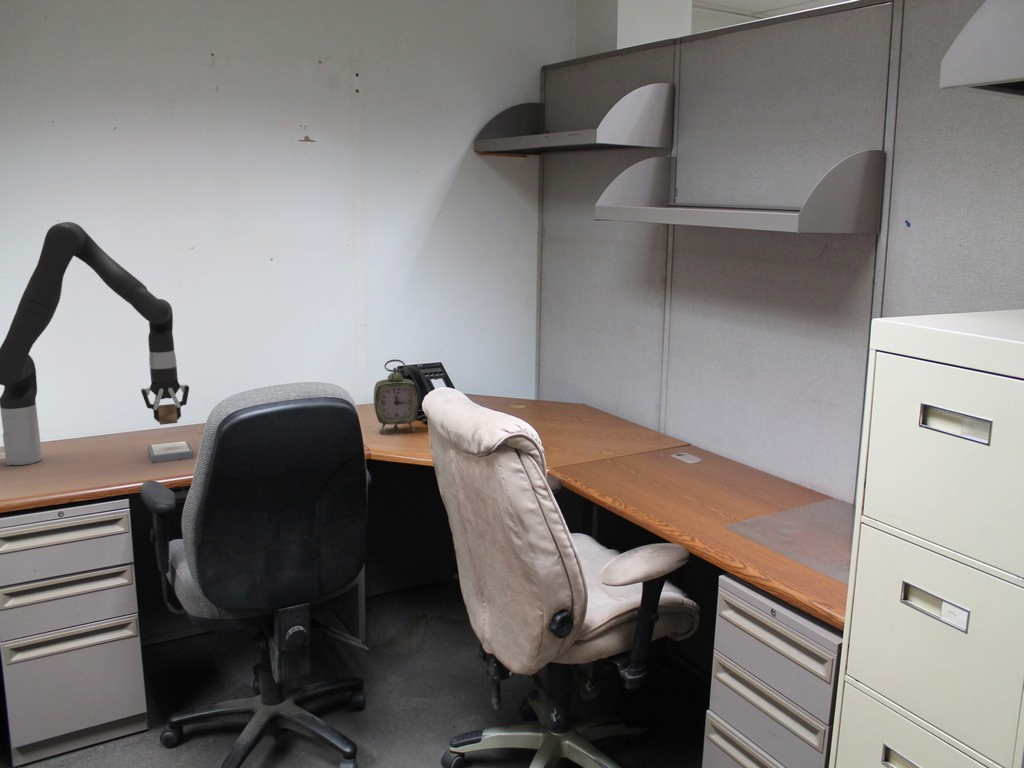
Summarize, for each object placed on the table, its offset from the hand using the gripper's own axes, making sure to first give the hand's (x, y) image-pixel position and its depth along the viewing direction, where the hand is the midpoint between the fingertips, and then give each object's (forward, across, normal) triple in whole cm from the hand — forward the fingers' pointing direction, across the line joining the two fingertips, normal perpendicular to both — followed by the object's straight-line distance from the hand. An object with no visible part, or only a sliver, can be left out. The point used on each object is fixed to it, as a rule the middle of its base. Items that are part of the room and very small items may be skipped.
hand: (167, 419), depth 258 cm
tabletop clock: (+12, +72, -4) cm, 73 cm away
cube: (+1, 0, 0) cm, 1 cm away
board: (+11, 0, 0) cm, 11 cm away
